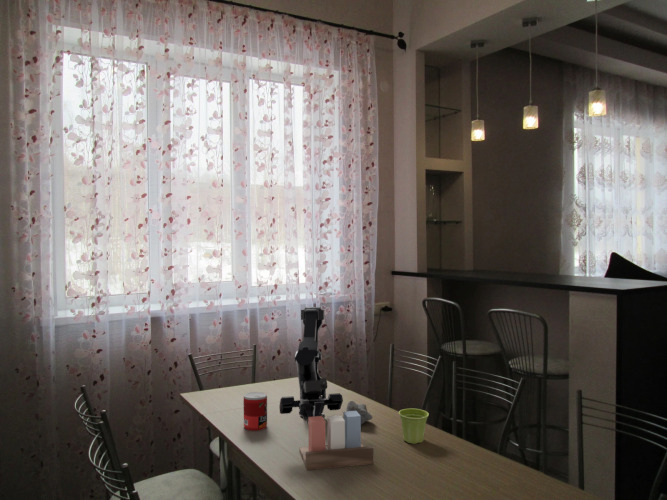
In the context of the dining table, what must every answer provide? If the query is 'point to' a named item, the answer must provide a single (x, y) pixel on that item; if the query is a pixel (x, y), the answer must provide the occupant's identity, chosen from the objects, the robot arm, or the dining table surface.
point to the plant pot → (413, 424)
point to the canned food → (255, 411)
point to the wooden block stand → (336, 457)
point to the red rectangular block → (316, 433)
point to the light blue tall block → (352, 429)
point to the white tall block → (335, 432)
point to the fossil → (359, 410)
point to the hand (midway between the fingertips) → (314, 429)
